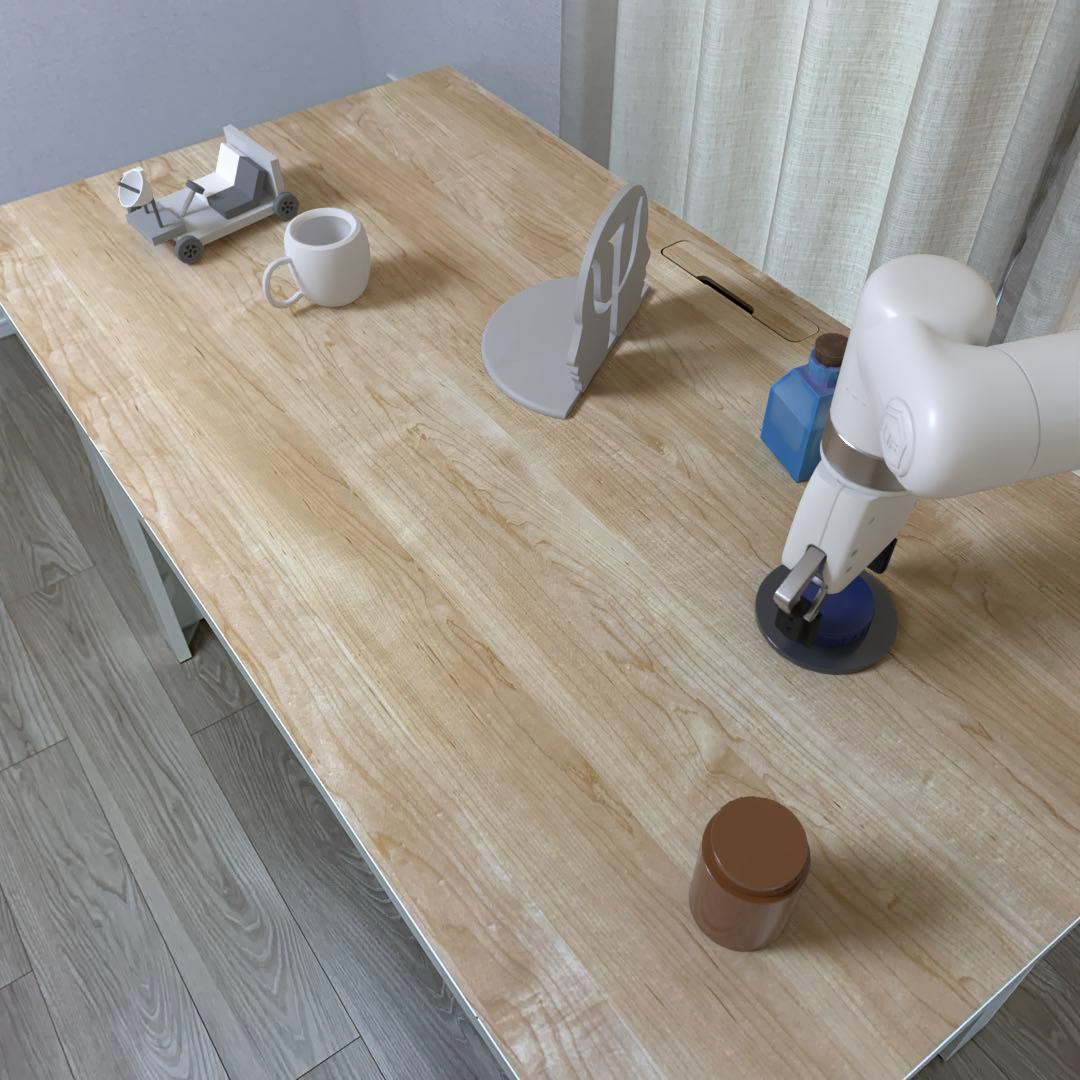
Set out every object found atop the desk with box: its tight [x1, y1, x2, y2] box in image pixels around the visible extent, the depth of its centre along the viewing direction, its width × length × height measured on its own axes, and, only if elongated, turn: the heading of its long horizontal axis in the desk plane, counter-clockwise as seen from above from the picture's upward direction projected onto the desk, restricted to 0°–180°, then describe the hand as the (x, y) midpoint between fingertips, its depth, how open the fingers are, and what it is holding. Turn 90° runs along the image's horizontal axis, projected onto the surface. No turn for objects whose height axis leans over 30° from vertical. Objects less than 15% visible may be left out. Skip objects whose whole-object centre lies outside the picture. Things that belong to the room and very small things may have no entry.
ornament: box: [480, 182, 651, 420], centre depth 99 cm, size 22×13×17 cm, turn 155°
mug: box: [261, 207, 372, 309], centre depth 106 cm, size 12×8×8 cm
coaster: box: [754, 563, 899, 675], centre depth 82 cm, size 11×11×1 cm
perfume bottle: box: [759, 332, 849, 484], centre depth 90 cm, size 6×6×12 cm
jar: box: [688, 795, 812, 953], centre depth 64 cm, size 6×6×9 cm
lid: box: [801, 565, 875, 647], centre depth 81 cm, size 7×7×2 cm
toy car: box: [116, 123, 300, 265], centre depth 115 cm, size 18×10×12 cm
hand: (830, 598), depth 81 cm, fingers open, 9 cm apart
